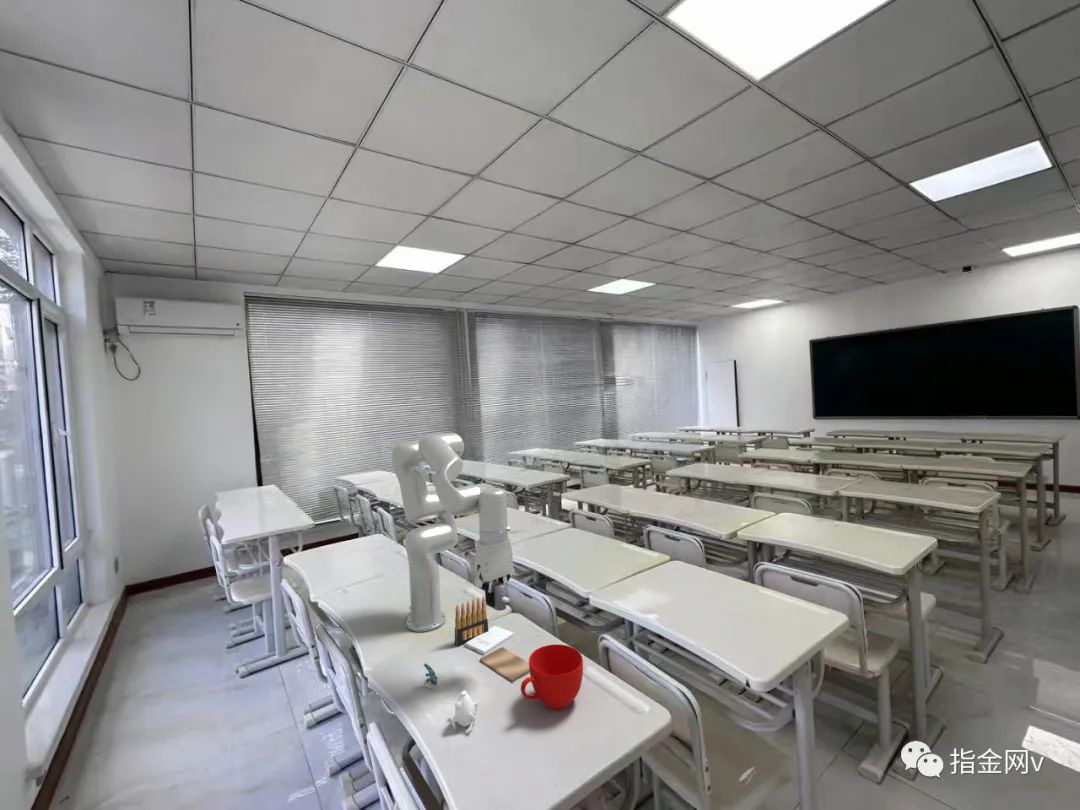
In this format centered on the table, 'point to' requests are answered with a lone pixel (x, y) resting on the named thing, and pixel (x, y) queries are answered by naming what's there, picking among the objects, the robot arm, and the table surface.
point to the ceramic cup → (554, 675)
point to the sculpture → (431, 678)
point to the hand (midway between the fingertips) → (495, 602)
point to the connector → (499, 596)
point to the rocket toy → (464, 710)
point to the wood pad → (506, 664)
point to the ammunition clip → (470, 622)
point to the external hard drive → (489, 640)
